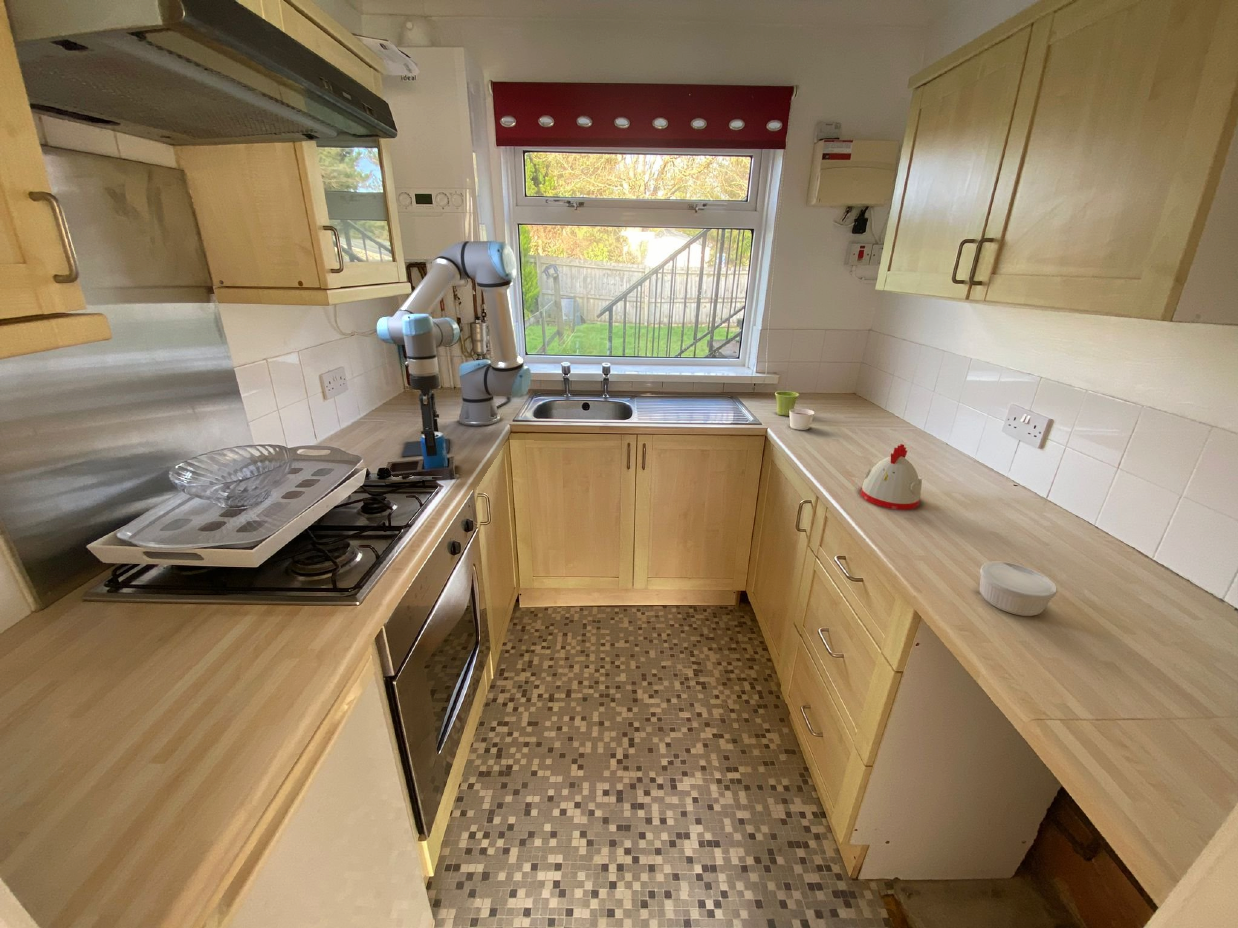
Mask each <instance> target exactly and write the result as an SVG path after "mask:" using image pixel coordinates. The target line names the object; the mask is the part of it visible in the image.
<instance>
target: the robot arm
mask: <svg viewBox="0 0 1238 928" xmlns="http://www.w3.org/2000/svg"><path fill="white" fill-rule="evenodd" d="M517 266H518V265H517V260H516V256H515V253H514V251H513V249H512V248H511V247H510V245H509V244H508V243H506V242H505V241H498V240H497V241H496V240H474V241H473V240H472V241H471V240H461V241H458V242H455V243H454V244H453V243H452V244H451V245H450V246H448V247H446V248H445V249H443V251H441V252H440V253H439V254H438V255H437V256H436V257H435V258H434V259H433V260H432V262H431V263H430V270H429V271H428V272H427V274H426V275H425V276H424V278H423V279H422V280H421V281H420V282H419V283H418V285H417V286H416V288H415V289H413V291H412V292H411V293H410V295H409V296H408V297H407V298H406V299H405V300H404V302H403V303H402V305H400V307H399V308H398V310H396V312H395V313H394V315H393V316H390V315H389V316H383V317H381V318H379V320H378V321H377V324H376V333H377V337H379V339H380V340H381V342H383V343H384V344H390V345H395V346H396V345H402V346H403V345H404V347H405V351H406V360H407V361H406V362H405V363H404V364H405V366H408V373H409V374H410V375H409V382H410V383H409V384H410V388H411V389H412V390H414V391H420V393H419V396H418V402H419V407H420V408H419V409H420V411H421V412H420V413H421V424H422V430H420V435H422V434H424V438H425V445H426V453H427V456H437V455H438V454H437V446H436V439H435V432H440V431H439V423H438V419H440V413H438V410H437V407H436V393H434V390H436V389H439V388H440V386H441V384H440V383H441V382H440V374H438V372H439V364H438V363H439V362H438V357H437V349H438V348H441V347H446V346H447V347H448V346H451V345H453V344H454V343H456V342H457V341H458V340H459V338H460V334H461V331H460V330H461V329H460V327H459V325H458V323H457V322H456V321H455V320H454V319H452V318H450V317H439V318H432V315H431V314H432V313H433V312H434V310H435V309H436V307H437V306H438V305H439V303H440V302H441V300H442V299H443V298H444V297H445V295H446V293H447V292H449V290H450V289H451V287H454V286H457V284H458V283H459V282H460V281H462V280H475V282H476V286H477V288H478V289H479V290H481V291H482V294H483V300H484V307H485V313H486V318H487V324H488V330H489V336H490V342H491V348H492V353H493V354H492V355H493V359H492V360H490V359H487V358H485V359H476V360H471V361H466V362H463V363H461V364H460V365H459V369H458V370H459V374H458V377H459V383H460V393H461V399H462V401H461V403H462V404H461V409H460V411H459V417H458V418H459V423H460V424H461V425H464V426H468V427H482V426H484V427H485V426H490V425H494V424H496V423H498V422H500V421H501V415H500V412H499V408H501V407H503V406H505V405H507V404H509V403H510V401H511V398H513V399H514V398H523V397H525V396H526V395H527V394H528V392H529V389H530V387H531V381H532V372H531V369H530V367H529V366H527V365H524V359H523V358H522V357H521V356H519V353H518V346H517V340H516V332H515V325H514V318H513V311H512V305H511V297H510V290H509V289H510V287H511V286H512V285H513V280H514V279H515V278H516V276H517V269H518V267H517ZM495 397H505V398H507V400H505V401H504V402H502V403H500V404H498V405H496V403H495V399H494V398H495Z"/></svg>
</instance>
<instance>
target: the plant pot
mask: <svg viewBox="0 0 1238 928" xmlns="http://www.w3.org/2000/svg"><path fill="white" fill-rule="evenodd" d="M774 395H775V399H776V414H777V415H779V416H786V417H788V416H789V417H790V415H789V410H790V409H794V408H795V407H796V406H795V405H796V403H797V399H798V397H799V396H800V394H799V393H798V392H795V391H787V390H781V391H776V392H775V393H774Z"/></svg>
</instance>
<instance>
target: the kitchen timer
mask: <svg viewBox="0 0 1238 928" xmlns="http://www.w3.org/2000/svg"><path fill="white" fill-rule="evenodd" d="M907 454H908V450H907V447H905V444H902V443H900V444H897V447H894V448H893V453H892V452H891V453H890V456H888V457H885V458H883V459H882V460H880V461H879V462H877V463H876V464H875V465H874V466H873V467H872V468H870V467H869V468H868V469H867V472H866V474H865V476H864V480H863V483H862V485H861V490H860V495H861V497H862V498H863V499H864V500H866V501H867V502H869V503H870V504H873V505H876V506H879V507H882V508H886V509H891V510H897V511H898V510H899V511H902V510H904V511H905V510H907V511H908V510H912V509H916V508H917V507H918V506H919V505H920V501H921V495H922V493H921V491H922V482H923V479H922V478H919V475H918V472H917V470H916V468H915V467H914V465H913V464H912V463H911V462H910V460H909V459H907V458H906V457H907Z"/></svg>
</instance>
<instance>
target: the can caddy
mask: <svg viewBox="0 0 1238 928" xmlns="http://www.w3.org/2000/svg"><path fill="white" fill-rule="evenodd" d="M447 461H448V467H445V468H434V469H425V468H424V461H423V458H420V459H408V460H397V461H388V462H387V463H386V466H385V469H386V468H389V470H391V471H392V472H391V474H392V476H393V477H399V476H403V475H412V476H442V477H432V479H436V480H435V481H443V480H453V479H455V478H456V477H455V476H456V475H455V474H456V463H455V456H447Z"/></svg>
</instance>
